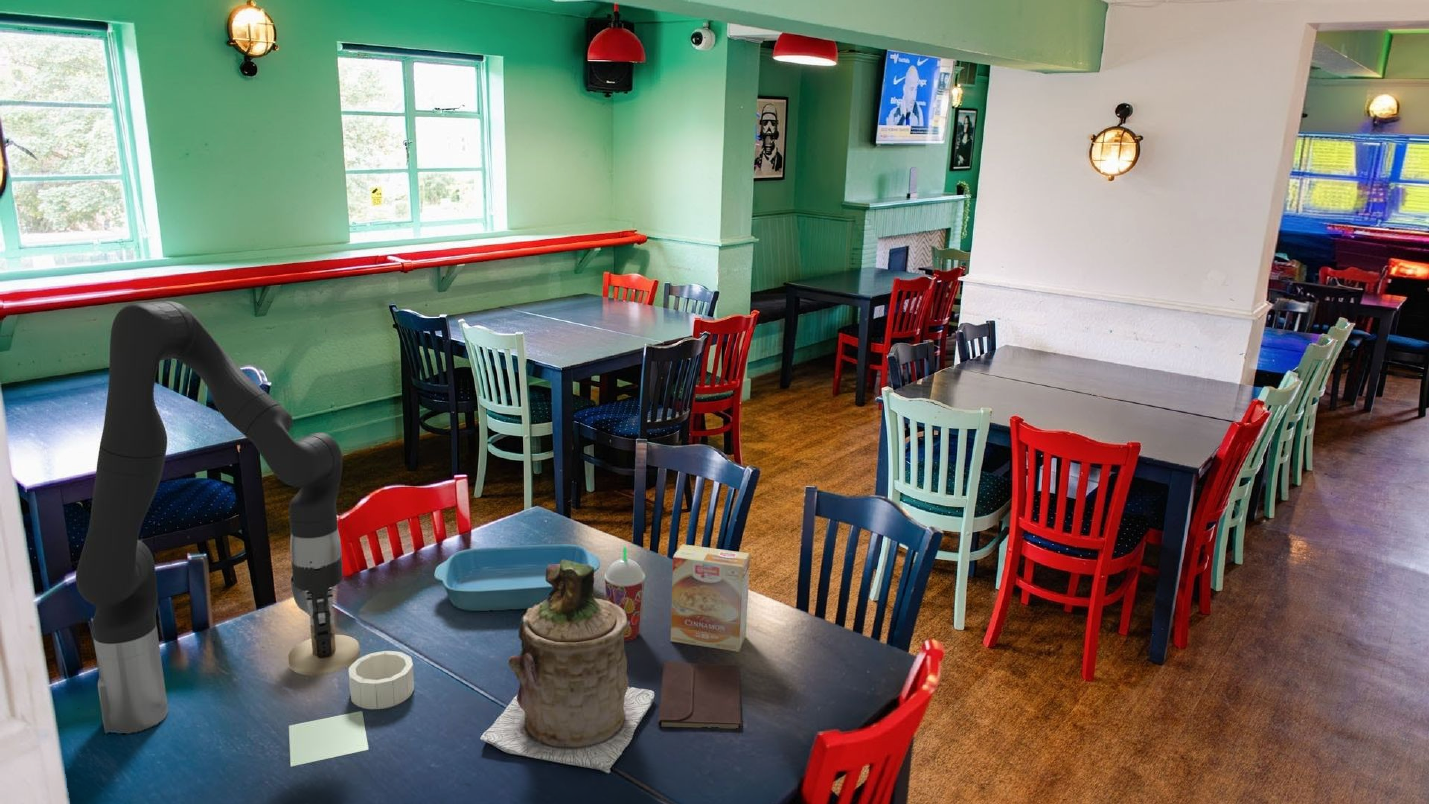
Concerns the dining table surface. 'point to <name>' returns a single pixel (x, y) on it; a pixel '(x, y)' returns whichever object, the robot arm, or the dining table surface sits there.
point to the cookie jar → (571, 678)
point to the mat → (327, 738)
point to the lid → (309, 664)
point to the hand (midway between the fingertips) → (324, 650)
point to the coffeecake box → (709, 597)
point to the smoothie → (626, 591)
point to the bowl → (381, 679)
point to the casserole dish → (505, 575)
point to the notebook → (700, 695)
